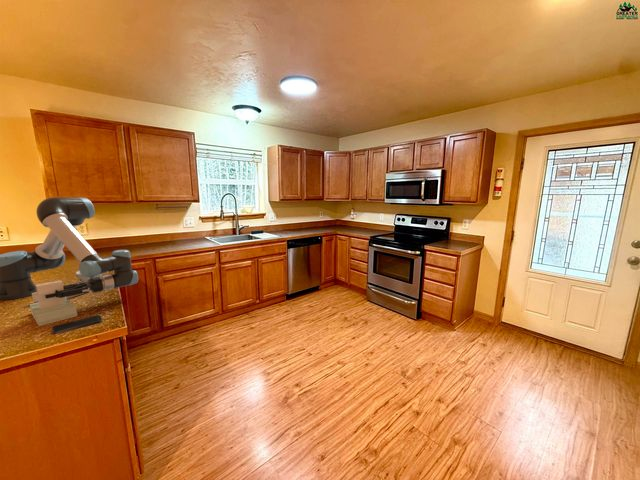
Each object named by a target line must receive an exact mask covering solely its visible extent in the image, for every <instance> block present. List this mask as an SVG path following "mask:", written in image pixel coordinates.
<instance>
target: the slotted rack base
mask: <svg viewBox="0 0 640 480" xmlns="http://www.w3.org/2000/svg"><path fill="white" fill-rule="evenodd" d="M65 302H66V304H64V305H59V306H55V307H51V308H46V309H42V310H40V309H39V303H34V302H33V303H34V304H31V303H29V304H30V306H29V308H30V313H31V315H32V317H33V318H34V320H35V322H36V323H37V325H38V327H41V326H45V325H49V324H52V323H56V322H57V323H58V322H60V320H61V321H63V320H68V319H71V318H74V317H75V318H77V317H78V311H77V306H76V305H74V304H73V302H71V301H70V299H67V297H65Z"/></svg>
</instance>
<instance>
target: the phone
mask: <svg viewBox="0 0 640 480" xmlns="http://www.w3.org/2000/svg"><path fill="white" fill-rule="evenodd" d="M102 322H103V319H102V317H101V315H99V314H97V315H93V316H88V317H84V318H81V319H77V320H76V319H75V320H73V321H69V322H64V323H60V324H57V325H56V324H55V325H53V326H52V328H51V329H52V335H57V334H63V333H66V332H69V331H74V330H77V329H81V328H85V327H88V326H92V325H97V324H100V323H102Z"/></svg>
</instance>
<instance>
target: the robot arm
mask: <svg viewBox="0 0 640 480" xmlns="http://www.w3.org/2000/svg"><path fill="white" fill-rule="evenodd" d="M95 213H96V211H95V206H94V204H93V203H92V201H91V200H90V199H88V198H87V197H80V196H79V197H78V196H77V197H74V196H73V197H57V196H55V197H54V196H53V197H48V198H45V199H43V200H41V202H39V204H38V205H37V207H36V216H37V219H38V222H40V223H41V224H42V226H43V227H45V228H48V229H50V231H49V232H48V234H47V235H46V237H45V239H44V240H43V243H42V244H39V245H37V246H36V247H35V249H34V250H32V251H29V252H27V251H26V250H16V251H10V252H5V253H1V254H0V301H10V300H15V299H23V298H25V297H29V296H31V298H32V300H33V303H34V302H36V301H41V300H45V299H50V298H55V297H59V298H62V297H67V296H72V295H77V294H81V295H83V294H82V293H84V294H89V292H88V291H90V292H92V293H93V294H95V293H99V292H103V291H111V290H113V289H117V288H123V287H127V286H132V285H135V284H137V283H138V281H139V275H138V274H139V273H138V272H137V270H133V268H132V256H131V252H130V250H128V249H117V250H114V251H112V253H111V256H110V255H109V256H106V257H105V256H104V257H101V256H100V255H99V254H98V253H97V251H96V250H95V249H94V248H93V247H92V245H90V243H88V241H87V240H86V239H85V238H84V237H83V236H82V235H81V234H80V233H79V231H78V230H77V229H76V228H77V227H78V226H81V225H83V223H84V222H85V220H86V219H88V220H89V219H92V218H94V217H95ZM64 247H66V249H67V250H68V251H69V252H70V253H71V254H72V255H73V256H74V258H75V259H76V260H77V262H79V263H80V264H78V271H80V273H81V274H82V275H83V276H85V277H90V276H96V275H99V274H102V273H103V274H104V275H103V274H102V276H101V277H94V278H90V280H89V281H90V282H89V283H85V282H81V281H79V282H75V283H71V284H64V285H63V288H64V290H61V291H58V290H55V291H53V292H48V293H43V294H38V295H37V291H36V285H37V284H35V282H34V281H33V280H32V277H31V274H33V273H34V274H35V273H39V272H43V271H49V270H54V269H57V268H60V267H61V266H63V265H64V264H65V262H66V254H65V251H63V249H64ZM106 272H108V273H110V272H114V273H112V274H108V275H107V273H106ZM105 274H106V275H105ZM55 292H56V293H55Z"/></svg>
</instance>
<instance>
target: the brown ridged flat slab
mask: <svg viewBox="0 0 640 480" xmlns="http://www.w3.org/2000/svg"><path fill="white" fill-rule="evenodd" d="M88 293H91V290H89V291H88ZM84 294H85V293H82V294H77V295H72V296H67V300H70V299H73V298H76V297H78V296H81V295H84ZM34 303H38V301H36V302H34V301H33V302H32V303H29V304H27V305H24V306H22V307H21V309H24V308H28V307H29V308H30V304H34Z"/></svg>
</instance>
